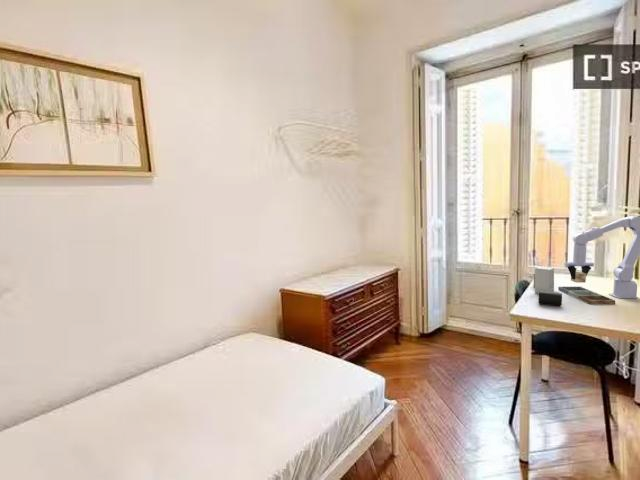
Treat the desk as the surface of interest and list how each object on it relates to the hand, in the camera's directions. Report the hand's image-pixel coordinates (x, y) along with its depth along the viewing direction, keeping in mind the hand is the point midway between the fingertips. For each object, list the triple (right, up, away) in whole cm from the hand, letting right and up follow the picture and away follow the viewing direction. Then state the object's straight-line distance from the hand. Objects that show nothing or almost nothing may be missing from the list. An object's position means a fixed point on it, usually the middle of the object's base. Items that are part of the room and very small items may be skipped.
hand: (578, 278), depth 207 cm
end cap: (-28, -12, -18) cm, 35 cm away
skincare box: (-18, -9, +3) cm, 20 cm away
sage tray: (0, -9, -5) cm, 11 cm away
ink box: (-12, -7, +14) cm, 19 cm away
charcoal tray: (0, -8, +4) cm, 9 cm away
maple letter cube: (0, -1, 0) cm, 1 cm away
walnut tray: (-1, -10, -15) cm, 18 cm away
